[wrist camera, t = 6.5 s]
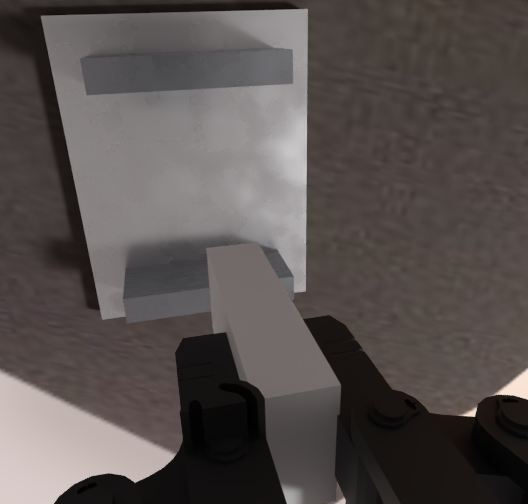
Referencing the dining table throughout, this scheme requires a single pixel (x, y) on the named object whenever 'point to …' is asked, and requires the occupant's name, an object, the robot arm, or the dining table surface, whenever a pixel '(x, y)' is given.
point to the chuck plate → (183, 147)
